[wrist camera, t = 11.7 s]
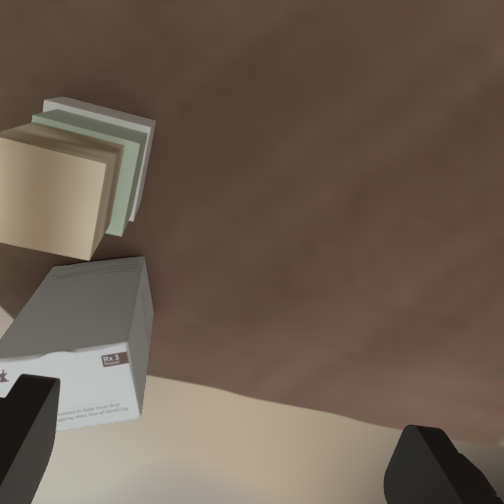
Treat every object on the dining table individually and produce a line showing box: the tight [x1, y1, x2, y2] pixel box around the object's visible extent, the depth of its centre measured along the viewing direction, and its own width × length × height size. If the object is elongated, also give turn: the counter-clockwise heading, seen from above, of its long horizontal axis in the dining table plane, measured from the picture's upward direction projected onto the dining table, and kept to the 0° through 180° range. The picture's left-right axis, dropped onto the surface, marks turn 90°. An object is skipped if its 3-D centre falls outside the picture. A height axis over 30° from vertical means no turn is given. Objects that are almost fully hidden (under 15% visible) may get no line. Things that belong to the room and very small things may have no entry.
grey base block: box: [43, 97, 156, 221], centre depth 33 cm, size 7×7×5 cm
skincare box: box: [0, 256, 154, 432], centre depth 33 cm, size 8×6×15 cm
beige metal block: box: [0, 122, 125, 261], centre depth 24 cm, size 5×5×6 cm
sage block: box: [32, 109, 148, 237], centre depth 29 cm, size 6×6×5 cm
